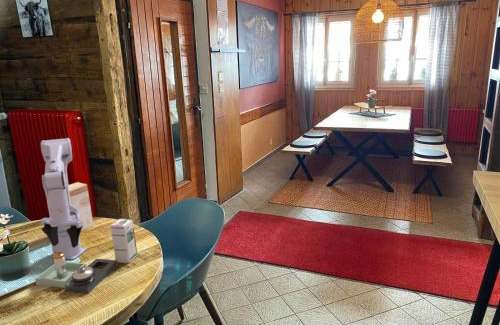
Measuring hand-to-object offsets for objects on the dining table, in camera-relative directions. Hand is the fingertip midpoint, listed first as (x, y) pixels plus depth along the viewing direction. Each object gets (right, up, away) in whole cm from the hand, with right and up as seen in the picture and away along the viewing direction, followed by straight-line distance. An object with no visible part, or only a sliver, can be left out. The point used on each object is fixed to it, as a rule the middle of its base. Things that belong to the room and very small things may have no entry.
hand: (65, 245), depth 129 cm
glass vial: (-1, -10, 0) cm, 10 cm away
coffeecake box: (-13, -2, +35) cm, 37 cm away
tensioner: (+10, -11, -1) cm, 14 cm away
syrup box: (+17, -7, +11) cm, 22 cm away
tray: (-1, -11, 0) cm, 11 cm away
